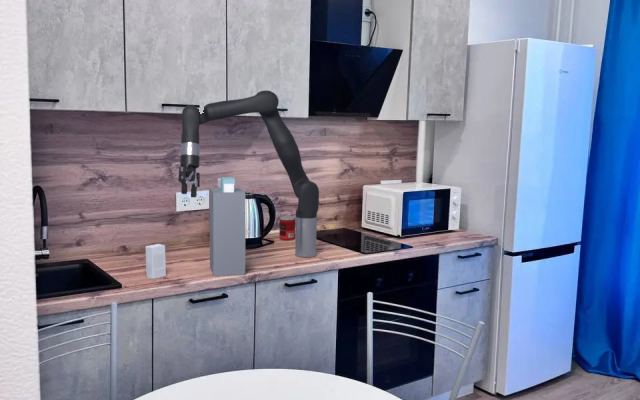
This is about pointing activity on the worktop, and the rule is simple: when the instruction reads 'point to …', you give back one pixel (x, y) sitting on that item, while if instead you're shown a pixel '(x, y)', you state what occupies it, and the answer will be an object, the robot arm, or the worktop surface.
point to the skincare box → (155, 261)
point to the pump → (227, 184)
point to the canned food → (287, 228)
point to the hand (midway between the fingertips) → (189, 195)
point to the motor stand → (227, 232)
